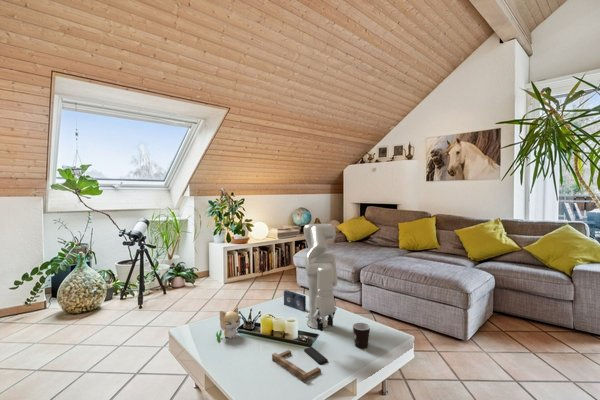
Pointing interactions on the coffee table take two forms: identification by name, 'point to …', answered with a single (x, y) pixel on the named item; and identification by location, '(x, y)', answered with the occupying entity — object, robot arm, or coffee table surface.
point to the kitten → (229, 323)
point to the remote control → (316, 356)
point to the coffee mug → (361, 335)
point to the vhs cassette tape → (295, 300)
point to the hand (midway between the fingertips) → (325, 327)
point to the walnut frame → (293, 366)
